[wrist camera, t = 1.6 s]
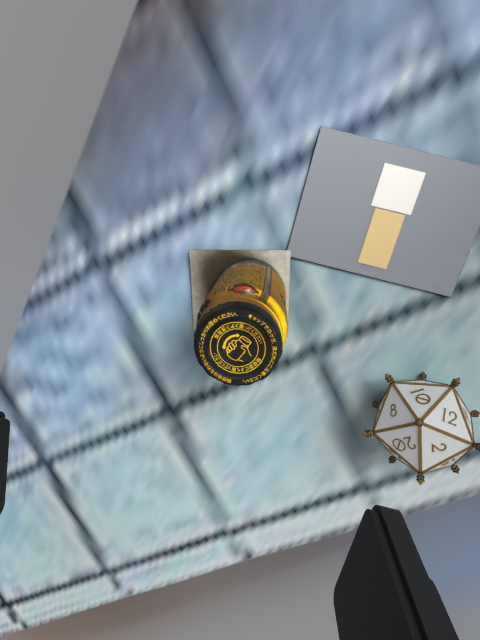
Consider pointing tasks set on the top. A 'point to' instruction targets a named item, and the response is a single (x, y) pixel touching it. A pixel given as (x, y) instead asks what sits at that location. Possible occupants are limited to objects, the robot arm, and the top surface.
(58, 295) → the top surface
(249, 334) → the condiment
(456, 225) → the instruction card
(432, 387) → the game die
